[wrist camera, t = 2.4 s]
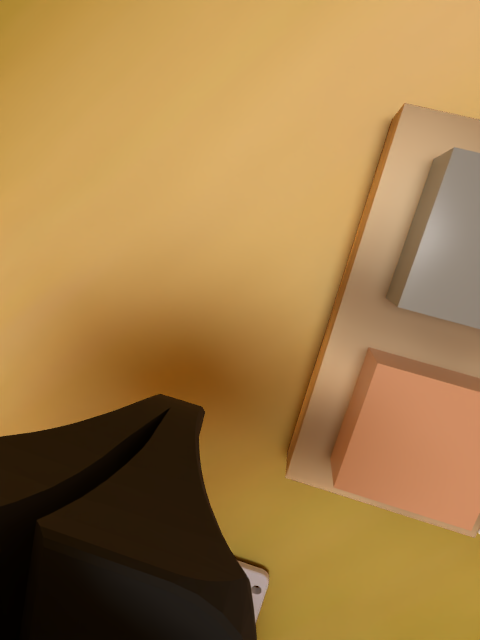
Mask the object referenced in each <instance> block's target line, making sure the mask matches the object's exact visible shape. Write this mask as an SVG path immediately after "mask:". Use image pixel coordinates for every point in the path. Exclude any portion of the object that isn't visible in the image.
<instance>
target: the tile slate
mask: <svg viewBox="0 0 480 640" xmlns="http://www.w3.org/2000/svg"><path fill="white" fill-rule="evenodd" d="M386 298H387V299H388V300H389V301H390V302H392V303H393V304H394V305H396V306H397V307H399V308H403V309H407V310H410V311H414V312H418V313H421V314H425V315H429V316H433V317H436V318H440V319H444V320H447V321H451V322H455V323H459V324H462V325H466V326H470V327H473V328H477V329H480V153H478V152H474V151H469V150H465V149H460V148H456V147H454V148H452V149H450V150H449V151H447V152H445V153H443V154H442V155H440V156H438V157H436V158H435V159H433V162H432V165H431V168H430V170H429V173H428V176H427V179H426V182H425V185H424V188H423V191H422V194H421V197H420V199H419V202H418V205H417V208H416V211H415V214H414V217H413V220H412V223H411V225H410V228H409V231H408V234H407V237H406V240H405V243H404V246H403V249H402V252H401V254H400V257H399V260H398V263H397V266H396V269H395V272H394V275H393V278H392V281H391V283H390V286H389V289H388V292H387V295H386Z"/></svg>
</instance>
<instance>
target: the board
mask: <svg viewBox="0 0 480 640" xmlns="http://www.w3.org/2000/svg"><path fill="white" fill-rule="evenodd" d="M454 147H456V148H460V149H465V150H469V151H474V152H478V153H480V120H479V119H474V118H470V117H465V116H461V115H456V114H452V113H447V112H443V111H438V110H434V109H429V108H425V107H420V106H416V105H411V104H407V103H404V105H403V106H402V107H401V109H400V110H399V111H398V113H397V114H396V115H395V116H394V118H393V119H392V122H391V125H390V128H389V131H388V135H387V138H386V141H385V144H384V147H383V150H382V154H381V157H380V160H379V163H378V166H377V169H376V173H375V176H374V179H373V182H372V185H371V189H370V192H369V195H368V198H367V201H366V204H365V208H364V211H363V214H362V217H361V220H360V224H359V227H358V230H357V233H356V236H355V239H354V243H353V246H352V249H351V252H350V255H349V259H348V262H347V265H346V268H345V271H344V274H343V278H342V281H341V284H340V287H339V290H338V294H337V297H336V300H335V303H334V306H333V309H332V313H331V316H330V319H329V322H328V325H327V329H326V332H325V335H324V338H323V341H322V344H321V348H320V351H319V354H318V357H317V360H316V363H315V367H314V370H313V373H312V376H311V379H310V383H309V386H308V389H307V392H306V395H305V398H304V402H303V405H302V408H301V411H300V414H299V418H298V421H297V424H296V427H295V430H294V433H293V437H292V440H291V443H290V446H289V449H288V453H287V464H286V477H285V478H288V479H291V480H295V481H298V482H301V483H304V484H307V485H310V486H313V487H317V488H320V489H323V490H326V491H329V492H332V493H335V494H339V495H342V496H345V497H348V498H351V499H354V500H357V501H361V502H364V503H367V504H370V505H373V506H376V507H379V508H383V509H386V510H389V511H392V512H395V513H398V514H401V515H405V516H408V517H411V518H414V519H417V520H420V521H423V522H427V523H430V524H433V525H436V526H439V527H442V528H445V529H449V530H452V531H455V532H458V533H461V534H464V535H467V536H471V537H474V538H475V536H476V534H477V532H478V530H479V528H480V513H479V515H478V518H477V520H476V522H475V524H474V526H473V528H472V530H471V531H469V530H466V529H463V528H460V527H457V526H454V525H450V524H447V523H444V522H441V521H438V520H435V519H431V518H428V517H425V516H422V515H419V514H416V513H413V512H409V511H406V510H403V509H400V508H397V507H394V506H390V505H387V504H384V503H381V502H378V501H375V500H371V499H368V498H365V497H362V496H359V495H356V494H353V493H349V492H346V491H343V490H340V489H337V488H334V487H333V478H332V470H331V461H330V457H331V454H332V451H333V448H334V446H335V443H336V440H337V437H338V434H339V431H340V428H341V425H342V422H343V420H344V417H345V414H346V411H347V408H348V405H349V402H350V399H351V396H352V393H353V391H354V388H355V385H356V382H357V379H358V376H359V373H360V370H361V367H362V364H363V362H364V359H365V356H366V353H367V350H368V347H370V348H374V349H377V350H381V351H384V352H388V353H391V354H395V355H398V356H402V357H406V358H409V359H413V360H416V361H420V362H423V363H427V364H430V365H434V366H438V367H441V368H445V369H448V370H452V371H455V372H459V373H463V374H466V375H470V376H473V377H477V378H480V329H477V328H473V327H470V326H466V325H462V324H459V323H455V322H451V321H447V320H444V319H440V318H436V317H433V316H429V315H425V314H421V313H418V312H414V311H410V310H407V309H403V308H399V307H397V306H396V305H394V304H393V303H392V302H390V301H389V300H388V299H387V298H386V295H387V292H388V289H389V286H390V283H391V281H392V278H393V275H394V272H395V269H396V266H397V263H398V260H399V257H400V254H401V252H402V249H403V246H404V243H405V240H406V237H407V234H408V231H409V228H410V225H411V223H412V220H413V217H414V214H415V211H416V208H417V205H418V202H419V199H420V197H421V194H422V191H423V188H424V185H425V182H426V179H427V176H428V173H429V170H430V168H431V165H432V162H433V159H435V158H436V157H438V156H440V155H442V154H443V153H445V152H447V151H449V150H450V149H452V148H454Z"/></svg>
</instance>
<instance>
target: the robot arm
mask: <svg viewBox="0 0 480 640" xmlns="http://www.w3.org/2000/svg"><path fill="white" fill-rule="evenodd" d="M204 414H205V411H204V409H203V407H201V406H198V405H195V404H191V403H188V402H185V401H182V400H178V399H175V398H172V397H169V396H165V395H162V394H159V395H155V396H152V397H150V398H147V399H144V400H142V401H139V402H136V403H134V404H131V405H129V406H126V407H123V408H120V409H118V410H115V411H112V412H109V413H106V414H103V415H100V416H97V417H93V418H90V419H87V420H84V421H81V422H77V423H73V424H70V425H66V426H61V427H57V428H52V429H47V430H42V431H37V432H32V433H24V434H17V435H9V436H2V437H0V640H257V635H256V621H257V618H258V615H259V612H260V609H261V606H262V603H263V600H264V597H265V594H266V591H267V588H268V585H269V575H268V573H267V572H266V571H265V570H263V569H261V568H258V567H255V566H252V565H249V564H247V563H244V562H241V561H238V560H236V558H235V557H234V555H233V553H232V552H231V550H230V549H229V547H228V545H227V543H226V541H225V539H224V537H223V535H222V533H221V531H220V528H219V526H218V523H217V521H216V518H215V516H214V513H213V511H212V508H211V506H210V503H209V499H208V496H207V493H206V489H205V485H204V481H203V476H202V470H201V463H200V454H199V434H200V430H201V426H202V422H203V418H204ZM254 586H259V588H256V587H254Z"/></svg>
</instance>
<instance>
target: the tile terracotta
mask: <svg viewBox="0 0 480 640" xmlns="http://www.w3.org/2000/svg"><path fill="white" fill-rule="evenodd" d="M330 461H331V470H332V478H333V487H334V488H337V489H340V490H343V491H346V492H349V493H353V494H356V495H359V496H362V497H365V498H368V499H371V500H375V501H378V502H381V503H384V504H387V505H390V506H394V507H397V508H400V509H403V510H406V511H409V512H413V513H416V514H419V515H422V516H425V517H428V518H431V519H435V520H438V521H441V522H444V523H447V524H450V525H454V526H457V527H460V528H463V529H466V530H469V531H471V530H472V528H473V526H474V524H475V522H476V520H477V518H478V515H479V513H480V378H477V377H473V376H470V375H466V374H463V373H459V372H455V371H452V370H448V369H445V368H441V367H438V366H434V365H430V364H427V363H423V362H420V361H416V360H413V359H409V358H406V357H402V356H398V355H395V354H391V353H388V352H384V351H381V350H377V349H374V348H370V347H368V350H367V353H366V356H365V359H364V362H363V364H362V367H361V370H360V373H359V376H358V379H357V382H356V385H355V388H354V391H353V393H352V396H351V399H350V402H349V405H348V408H347V411H346V414H345V417H344V420H343V422H342V425H341V428H340V431H339V434H338V437H337V440H336V443H335V446H334V448H333V451H332V454H331V457H330Z"/></svg>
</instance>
